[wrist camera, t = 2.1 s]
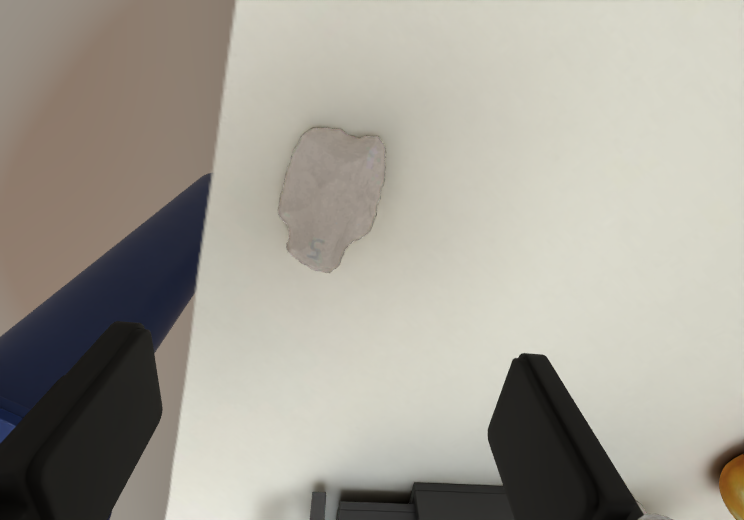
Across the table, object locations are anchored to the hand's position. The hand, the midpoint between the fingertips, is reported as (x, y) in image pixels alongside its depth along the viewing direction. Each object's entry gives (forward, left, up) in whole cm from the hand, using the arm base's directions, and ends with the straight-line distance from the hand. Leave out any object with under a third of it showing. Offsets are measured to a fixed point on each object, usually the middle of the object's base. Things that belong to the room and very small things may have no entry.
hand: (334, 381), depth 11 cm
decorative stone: (-1, 0, -16) cm, 16 cm away
